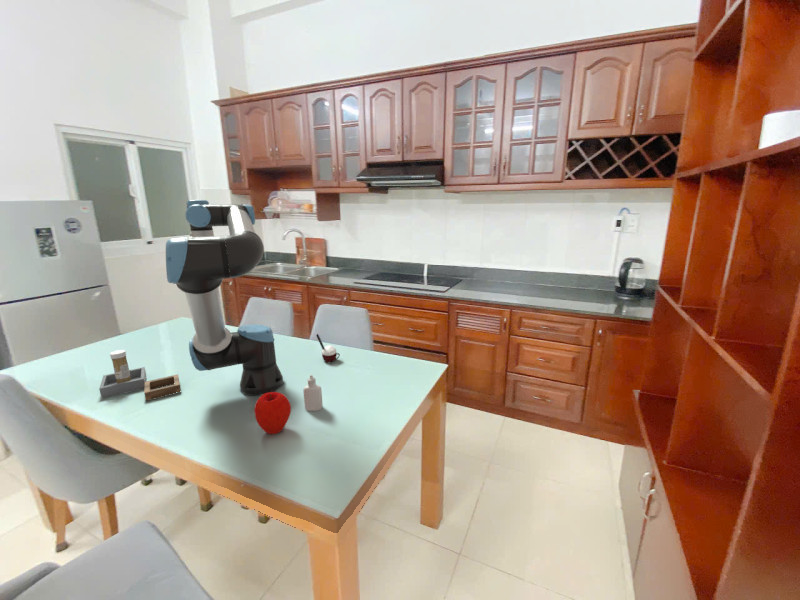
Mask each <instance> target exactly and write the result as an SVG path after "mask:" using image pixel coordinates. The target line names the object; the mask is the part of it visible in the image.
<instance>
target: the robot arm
mask: <svg viewBox="0 0 800 600" xmlns="http://www.w3.org/2000/svg"><path fill="white" fill-rule="evenodd" d="M185 220H186V221H187V223H188V224H189V227H190V233H189V235H188V236H189V237H187V236H183V237H175V238H174V237H172V238H170V239H168V240H166V243H165V270H166V281H167V283H169V284H173V285H174V284H176V286H177V288H178V289H179V290H180V291H181V292H183V293H185V297H186V301H187V306H188V309H189V313H190V316H191V320H192V324H193V327H194V331H195V334H194V335H193V337H192V338H191V339H190V340H188V341H189V342H188V350H189V357H191V362H192V365H193V366H194V368H195V369H196V370H197V371H200V372H203V371H212V370H215V369H221V368H227V367H233V366H236V365H237V366H238V365H242V373H241V377H240V382H239V387H240V392H241V393H243V394H244V395H247V396H260V395H263V394H265V393H269V392H276V390H278V389H280V388H281V387H282V386H283V385H284V378H283V377H284V376H283V374H282V372H281V370H280V367H279V366H278V364H277V357H276V348H275V342H274V341H275V338H274V334H273V330H272V328H271V327H269V326H267V325H263V324H245V325H241V326H239V327H238V328H237V330H236V331H235V332H233V331H232V332H231V331H230V330H229V329H228V328H227V327H226V325H225V319H224V313H223V306H222V301H221V295H220V287H221V285H222V283H223V280H224V279H233V278H239V277H242V276H245V275H246V274H249V273H250V272H251V271H253V270H254V269H255V268H256V267H257V266H258V265H259V263H260V262H261V261H262V259H263V257H264V252H265V246H264V242H263V240H262V239H261V237H260V236H259V235H258V234H257V233H256V230H255V227H254V225H255V223H256V214H255V209H254V206H253V205H251V204H243V203H241V204H210V203H209V201H208V200H206V199H205V200H204V199H190V200H189V199H188V200H186V210H185ZM213 227H228V233H229V235H218V236H217V235H214V228H213Z"/></svg>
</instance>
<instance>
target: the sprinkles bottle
mask: <svg viewBox="0 0 800 600" xmlns="http://www.w3.org/2000/svg"><path fill="white" fill-rule="evenodd" d="M109 355H110V359H111V361H112V362H111V363H112V366H113V370H114V371H113V373H115V377H116V380H117V384H118V383H123V382H127V381H131V378H130V372H129V370H130V368H129V363H128V360H127V352H126V350H125V349H120V350H119V349H118V350H114V351H112V352H110V353H109Z"/></svg>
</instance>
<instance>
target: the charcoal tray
mask: <svg viewBox="0 0 800 600" xmlns="http://www.w3.org/2000/svg"><path fill="white" fill-rule="evenodd" d="M129 372H130V378H131V381H127V382H123V383H118V384H117V380H116V377H115V372H113V373H110V374H109V373H108V374H103V375H102V379H101V382H100V384H99V392H100V393H99V394H100V397H101V399H104V398H105V399H106V398H110V397H113V396H117V395H122V394H126V393H130V392H134V391H135V392H136V391H138V390H139V391H140V390H143V389H144V390H145V382H146V381H147V373H146V372H147V371H146V367H145V366H144V367H143V366H142V367H138V368H133V369H129Z"/></svg>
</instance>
